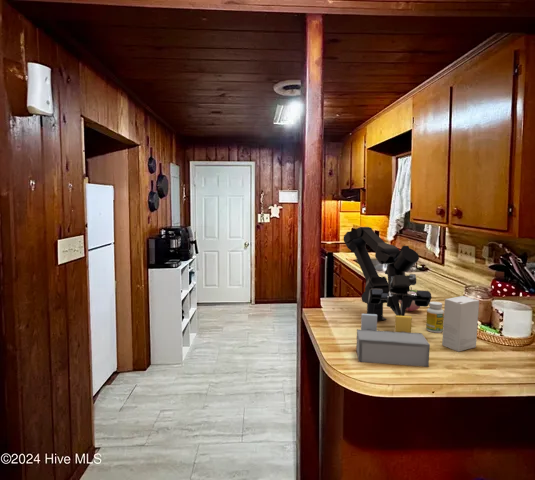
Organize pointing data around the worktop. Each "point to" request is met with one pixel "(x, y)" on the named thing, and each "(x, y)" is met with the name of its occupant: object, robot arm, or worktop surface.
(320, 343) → the worktop surface
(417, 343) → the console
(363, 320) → the light gray button
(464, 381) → the worktop surface
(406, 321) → the mustard button
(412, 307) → the decorative fruit
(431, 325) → the supplement bottle
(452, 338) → the skincare box
